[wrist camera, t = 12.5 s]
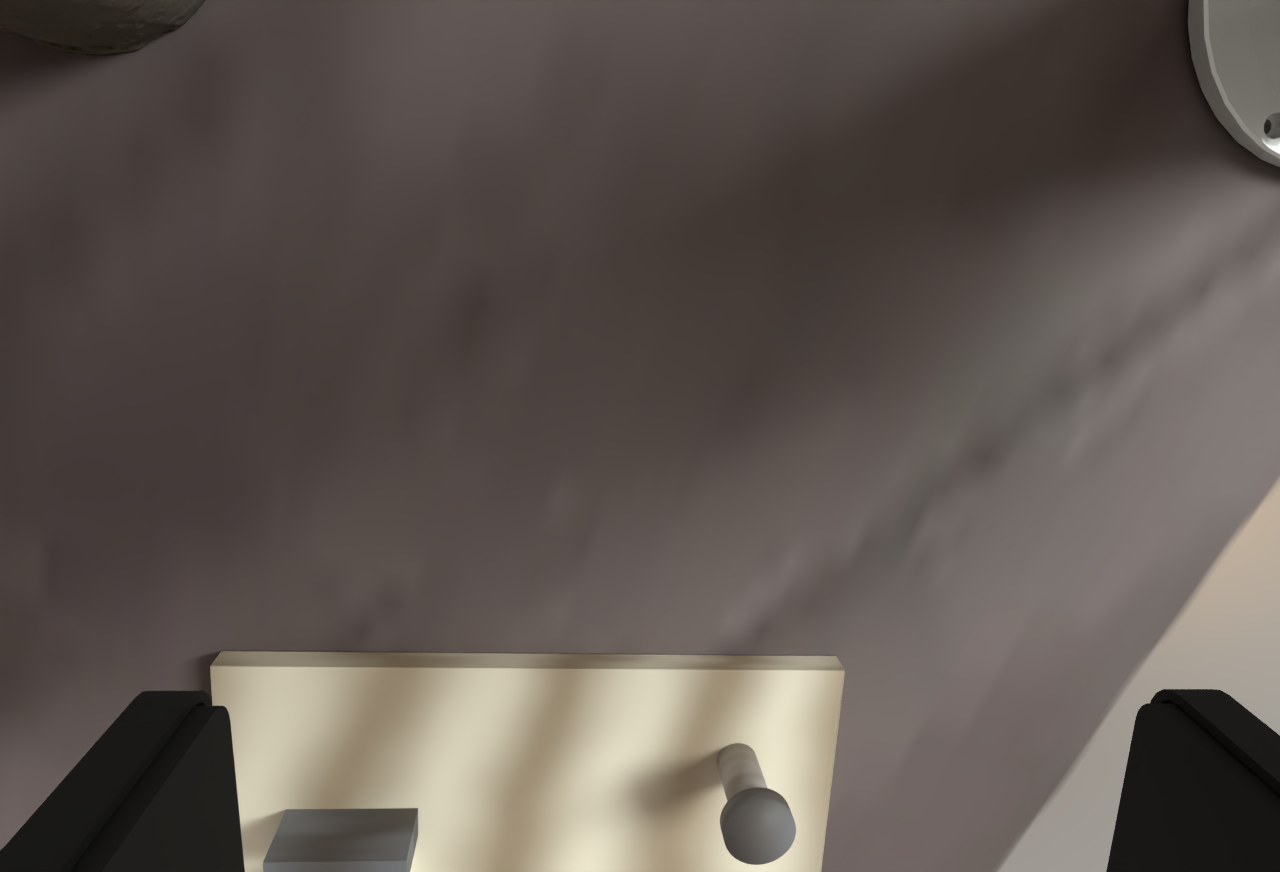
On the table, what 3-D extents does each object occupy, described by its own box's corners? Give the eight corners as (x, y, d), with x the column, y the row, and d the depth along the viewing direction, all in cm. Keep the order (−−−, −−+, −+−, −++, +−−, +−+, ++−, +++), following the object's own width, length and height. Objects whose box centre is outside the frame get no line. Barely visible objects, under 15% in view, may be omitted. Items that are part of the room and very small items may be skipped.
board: (835, 656, 38) (883, 732, 32) (802, 945, 41) (839, 1057, 36) (221, 651, 35) (161, 732, 30) (239, 957, 39) (188, 1080, 33)
